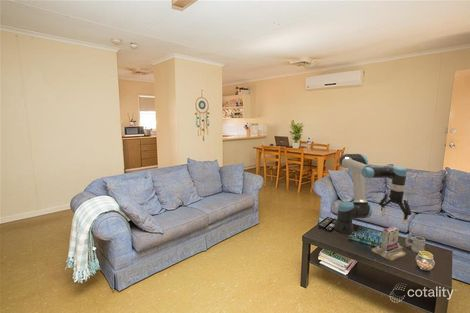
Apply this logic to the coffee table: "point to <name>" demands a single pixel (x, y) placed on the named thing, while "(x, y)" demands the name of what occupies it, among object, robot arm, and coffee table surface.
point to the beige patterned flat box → (389, 252)
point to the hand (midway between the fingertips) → (392, 219)
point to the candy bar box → (389, 238)
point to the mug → (416, 243)
